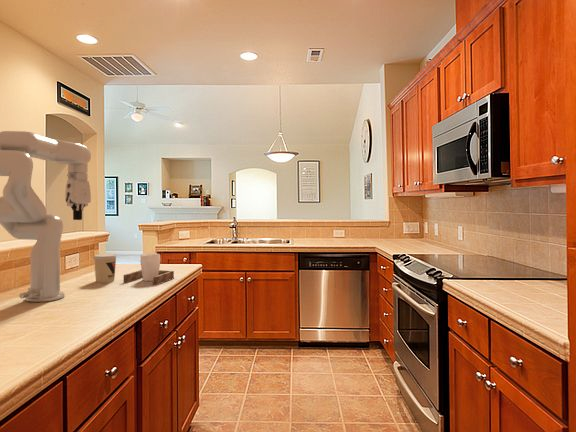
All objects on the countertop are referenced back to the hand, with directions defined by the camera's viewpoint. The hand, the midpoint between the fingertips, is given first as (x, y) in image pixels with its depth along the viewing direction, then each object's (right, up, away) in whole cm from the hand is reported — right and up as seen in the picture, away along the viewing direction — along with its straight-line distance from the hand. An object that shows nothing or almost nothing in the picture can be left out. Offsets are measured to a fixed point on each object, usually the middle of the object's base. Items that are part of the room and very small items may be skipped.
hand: (77, 219), depth 172 cm
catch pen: (+26, -29, +15) cm, 41 cm away
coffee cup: (+7, -29, +11) cm, 31 cm away
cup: (+26, -29, +16) cm, 42 cm away
